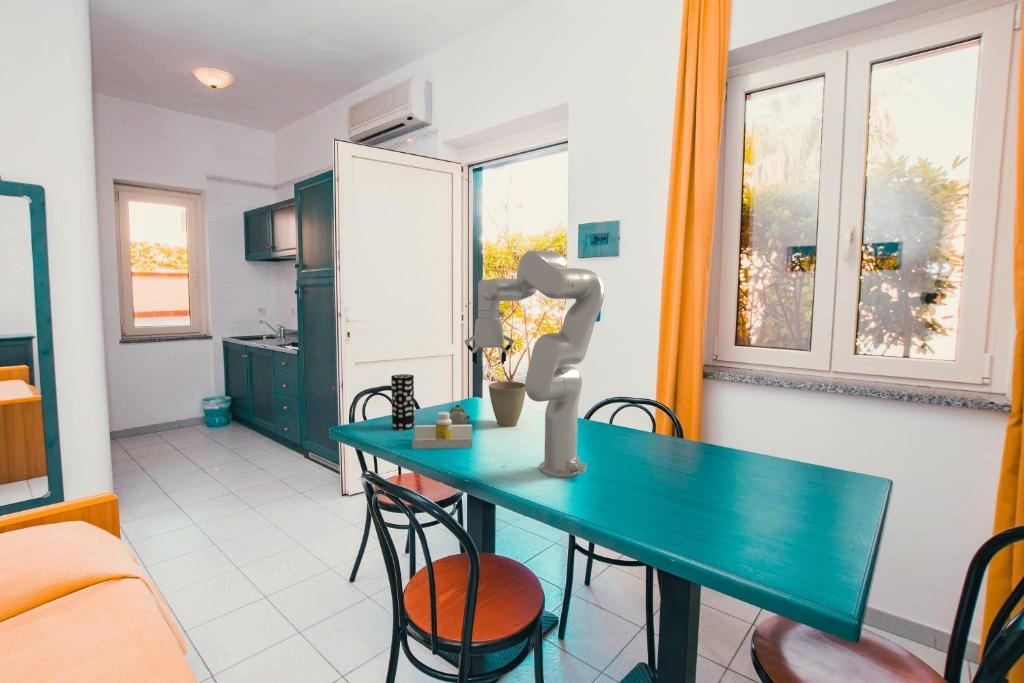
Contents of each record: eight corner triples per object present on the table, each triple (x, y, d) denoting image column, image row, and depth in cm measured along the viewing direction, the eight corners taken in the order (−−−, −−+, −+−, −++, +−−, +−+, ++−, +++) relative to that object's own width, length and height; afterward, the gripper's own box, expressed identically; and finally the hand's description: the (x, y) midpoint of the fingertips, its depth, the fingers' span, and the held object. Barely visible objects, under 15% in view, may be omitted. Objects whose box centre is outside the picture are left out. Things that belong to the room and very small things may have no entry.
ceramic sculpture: (445, 408, 188) (442, 401, 203) (445, 431, 188) (442, 423, 203) (473, 407, 190) (468, 401, 205) (473, 430, 190) (468, 422, 205)
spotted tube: (411, 430, 189) (411, 378, 187) (389, 430, 189) (388, 378, 187) (416, 424, 198) (415, 374, 195) (395, 424, 198) (394, 374, 195)
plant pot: (487, 419, 206) (487, 381, 204) (523, 419, 207) (523, 381, 206) (489, 430, 191) (489, 389, 189) (528, 429, 193) (529, 388, 191)
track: (471, 438, 181) (472, 424, 180) (472, 447, 170) (472, 433, 170) (415, 439, 179) (415, 425, 179) (412, 448, 168) (412, 434, 168)
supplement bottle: (432, 441, 173) (432, 413, 172) (442, 437, 178) (442, 410, 177) (445, 443, 171) (445, 415, 170) (454, 439, 175) (454, 412, 174)
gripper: (512, 314, 180) (512, 361, 182) (464, 314, 178) (464, 362, 180) (514, 315, 173) (514, 364, 174) (464, 315, 171) (464, 365, 173)
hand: (489, 363), depth 177 cm, fingers open, 9 cm apart
